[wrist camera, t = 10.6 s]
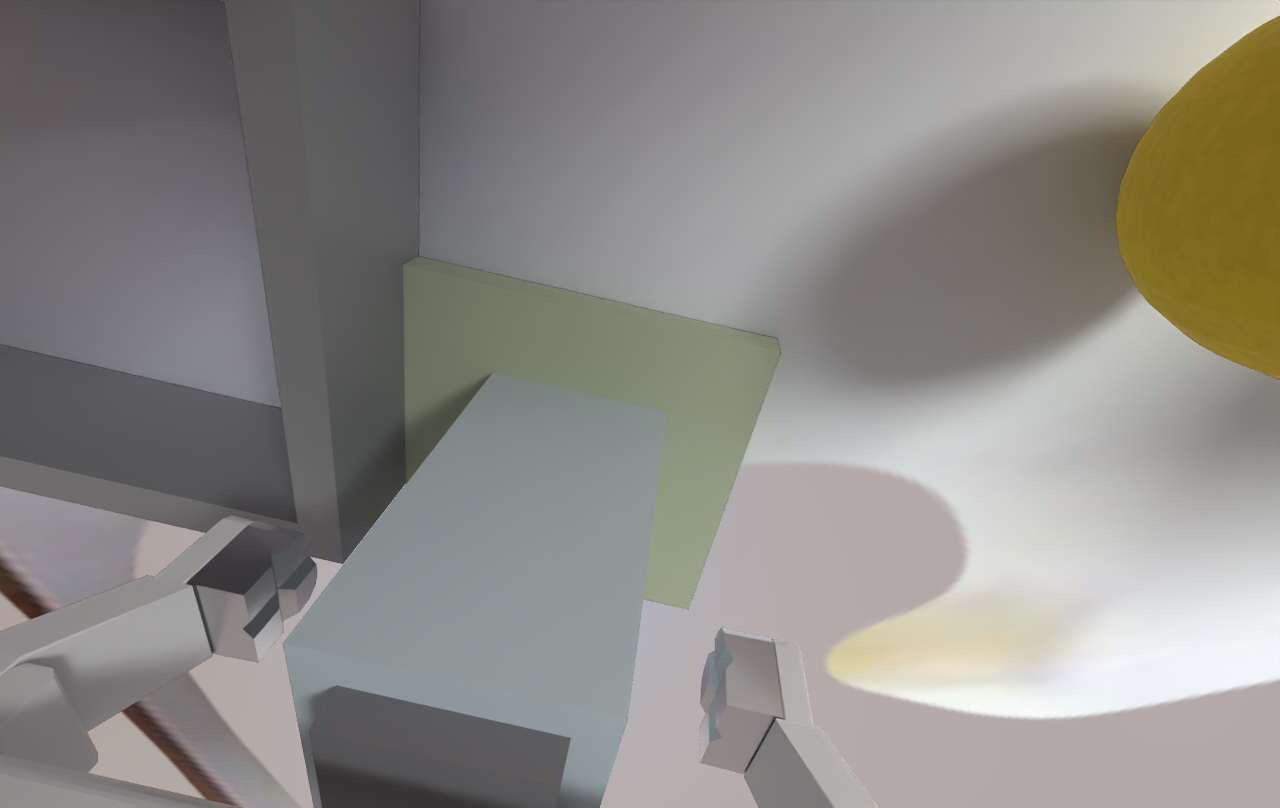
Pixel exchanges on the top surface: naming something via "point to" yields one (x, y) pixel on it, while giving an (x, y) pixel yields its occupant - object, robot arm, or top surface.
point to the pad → (594, 387)
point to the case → (270, 307)
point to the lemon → (1213, 205)
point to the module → (488, 614)
